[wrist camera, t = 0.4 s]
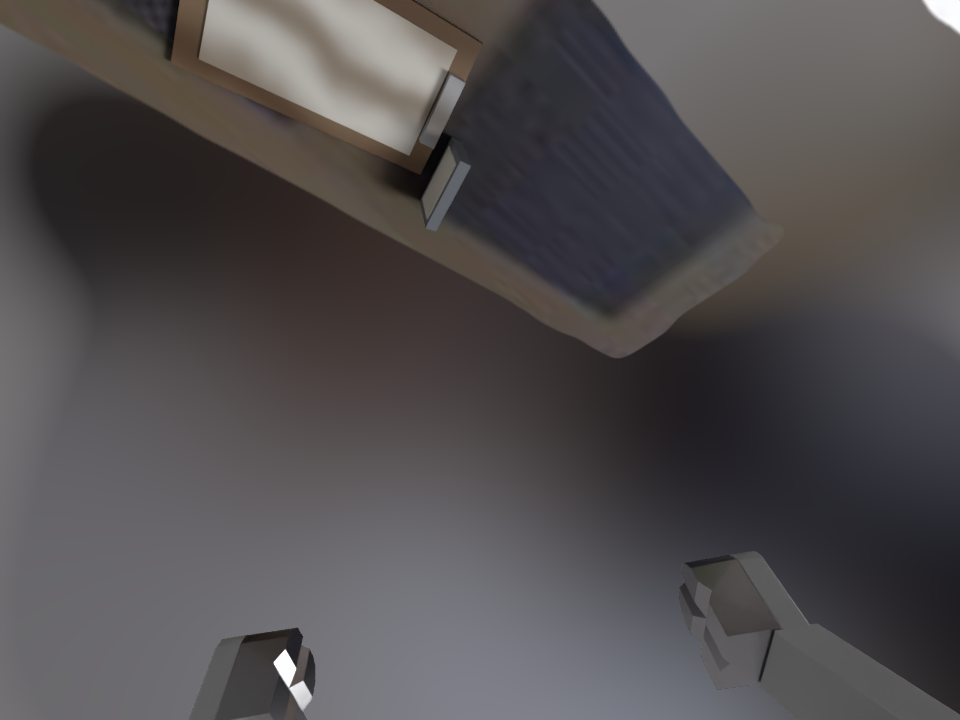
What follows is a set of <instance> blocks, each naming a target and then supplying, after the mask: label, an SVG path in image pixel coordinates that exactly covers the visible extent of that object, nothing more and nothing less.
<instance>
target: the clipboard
mask: <svg viewBox="0 0 960 720" xmlns="http://www.w3.org/2000/svg"><path fill="white" fill-rule="evenodd" d="M482 46H483V44H482V42H480V41H478V40H477V39H475V38H473V37H472V36H470V35H469V34H467V33H465V32H464V31H462V30H461V29H459V28H457V27H456V26H454V25H452V24H451V23H449V22H448V21H446V20H444V19H443V18H441V17H439V16H438V15H436V14H435V13H433V12H431V11H430V10H428V9H427V8H425V7H423V6H422V5H420V4H418V3H417V2H415V1H414V0H180V2H179V9H178V16H177V23H176V30H175V37H174V44H173V50H172V57H171V64H172V65H174V66H176V67H179V68H181V69H183V70H185V71H188V72H190V73H192V74H194V75H197V76H199V77H201V78H203V79H206V80H208V81H210V82H212V83H215V84H217V85H219V86H221V87H224V88H226V89H228V90H230V91H233V92H235V93H237V94H239V95H242V96H244V97H246V98H248V99H251V100H253V101H255V102H257V103H260V104H262V105H264V106H266V107H269V108H271V109H273V110H275V111H278V112H280V113H282V114H284V115H287V116H289V117H291V118H293V119H296V120H298V121H300V122H302V123H305V124H307V125H309V126H311V127H314V128H316V129H318V130H320V131H323V132H325V133H327V134H329V135H332V136H334V137H336V138H338V139H341V140H343V141H345V142H347V143H350V144H352V145H354V146H356V147H358V148H361V149H363V150H365V151H367V152H370V153H372V154H374V155H376V156H379V157H381V158H383V159H385V160H388V161H390V162H392V163H394V164H397V165H399V166H401V167H403V168H406V169H408V170H410V171H412V172H415V173H417V174H419V175H421V173H422V171H423V168H424V166H425V164H426V162H427V160H428V158H429V156H430V154H431V152H432V150H433V149H434V148H435V146H436V143H437V141H438V139H439V137H440V135H441V133H442V131H443V129H444V127H445V125H446V123H447V121H448V119H449V117H450V114H451V112H452V110H453V108H454V106H455V104H456V102H457V100H458V98H459V96H460V94H461V92H462V90H463V88H464V85H465V81H466V79H467V77H468V75H469V73H470V71H471V69H472V67H473V65H474V63H475V60H476V58H477V56H478V54H479V52H480V50H481V48H482Z"/></svg>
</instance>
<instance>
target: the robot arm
mask: <svg viewBox="0 0 960 720" xmlns="http://www.w3.org/2000/svg"><path fill="white" fill-rule="evenodd" d="M681 576H682V578H683V580H684V583H683V585H681V586H680V588H679V602H680V607H681V612H682V615H683V618H684V620H685V623H686V625H687V627H688V630H689V632H690V634H691V635H692V636H693V637H695V638H696V639H697V640H699V641H700V642H701V643H702V651H701V658H702V660H703V662H704V664H705V666H706V668H707V670H708V673H709V675H710V677H711V679H712V681H713V683H714V685H715V687H716V689H717V690H721V689H728V688H736V687H743V686H750V685H758V684H760V688H761V689H763V690H764V691H765V692H766V693H767V694H768V695H769V696H770V697H772V698H773V699H774V700H775V701H776V702H777V703H779V705H780V706H782V707H783V708H784V709H785V710H786V711H787V712H788V713H789V714H791V715H792V716H793V717H794V718H795V719H796V720H960V715H959V714H958V713H956V712H954V711H953V710H951V709H950V708H948V707H947V706H945V705H944V704H942V703H940V702H939V701H937V700H936V699H934V698H932V697H931V696H929V695H928V694H926V693H924V692H923V691H922V690H920V689H919V688H917V687H915V686H914V685H912V684H911V683H909V682H908V681H906V680H904V679H903V678H901V677H899V676H898V675H897V674H895V673H893V672H892V671H890V670H889V669H887V668H886V667H884V666H883V665H881V664H879V663H878V662H876V661H875V660H873V659H872V658H870V657H868V656H867V655H865V654H864V653H862V652H861V651H859V650H858V649H856V648H854V647H853V646H851V645H850V644H848V643H847V642H845V641H844V640H842V639H840V638H839V637H837V636H836V635H834V634H832V633H831V632H829V631H828V630H826V629H825V628H823V627H822V626H820V625H818V624H809V623H808V621H807V620H806V619H805V617H804V616H803V614H802V613H801V611H800V610H799V609H798V607H797V606H796V604H795V603H794V601H793V600H792V599H791V597H790V596H789V594H788V593H787V591H786V590H785V589H784V587H783V586H782V584H781V583H780V582H779V580H778V579H777V577H776V576H775V574H774V573H773V572H772V570H771V569H770V567H769V566H768V565H767V563H766V562H765V560H764V559H763V557H762V556H761V555H760V554H758V553H757V552H753V551H751V552H746V553H741V554H735V555H725V556H720V557H714V558H709V559H703V560H698V561H692V562H687V563H684V564H683V565H682V568H681ZM302 639H303V636H302V634H301V632H300V631H299V629H298V628H291V629H285V630H279V631H272V632H265V633H259V634H253V635H244V636H238V637H232V638H227V639H222V640H221V642H220V643H219V644H218V646H217V647H216V649H215V651H214V653H213V656H212V659H211V661H210V664H209V667H208V670H207V672H206V675H205V677H204V680H203V683H202V685H201V688H200V691H199V693H198V696H197V699H196V701H195V704H194V707H193V709H192V712H191V715H190V717H189V720H307V719H306V717H305V715H304V712H303V710H304V708H305V707H306V706H307V704H308V703H309V702H310V700H311V699H312V697H313V692H314V686H315V663H314V658H313V655H312V653H311V651H310V649H309V648H307V647H304V646H302V645H301V644H302Z"/></svg>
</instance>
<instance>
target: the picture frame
mask: <svg viewBox="0 0 960 720" xmlns="http://www.w3.org/2000/svg"><path fill="white" fill-rule="evenodd" d="M470 167H471V165H470V162H469V159H468V157H467V154H466V152H465V149H464V147H463V144H462V141H460V140H458V139H456V138H454V137H451V139H450V141H449V143H448V145H447V147H446V149H445V151H444V153H443V155H442V157H441V159H440V161H439V163H438V165H437V167H436V169H435V171H434V173H433V175H432V177H431V179H430V181H429V183H428V185H427V187H426V189H425V191H424V193H423V195H422V197H421V199H420V203H421V208H422V213H423V218H424V223H425V228H427V229H430V230H433V231H435V232H436V230H437V228H438V226H439V225H440V223H441V221H442V219H443V217H444V215H445V213H446V212H447V210H448V208H449V206H450V204H451V202H452V200H453V199H454V197H455V195H456V193H457V191H458V189H459V187H460V186H461V184H462V182H463V180H464V178H465V176H466V174H467V173H468V171H469V169H470Z"/></svg>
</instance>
